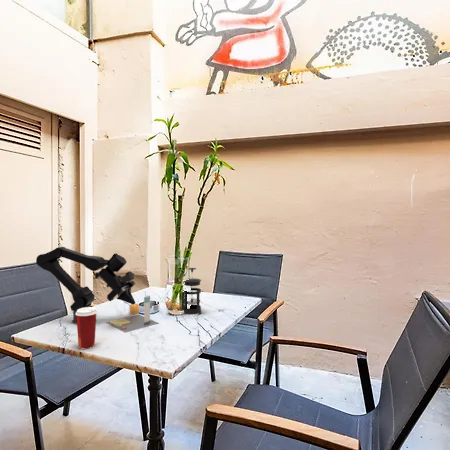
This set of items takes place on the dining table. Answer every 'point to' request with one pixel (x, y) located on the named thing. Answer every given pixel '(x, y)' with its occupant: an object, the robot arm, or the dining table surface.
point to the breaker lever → (146, 308)
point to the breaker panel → (131, 323)
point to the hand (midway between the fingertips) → (134, 303)
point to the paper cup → (86, 326)
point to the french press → (193, 308)
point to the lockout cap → (134, 309)
